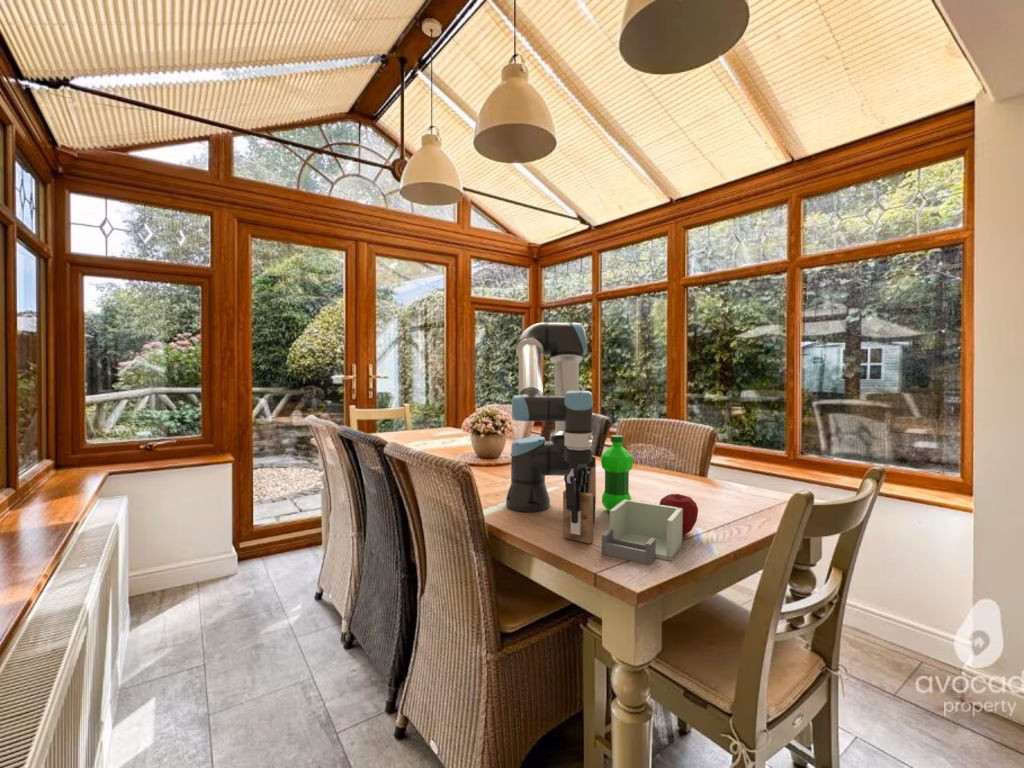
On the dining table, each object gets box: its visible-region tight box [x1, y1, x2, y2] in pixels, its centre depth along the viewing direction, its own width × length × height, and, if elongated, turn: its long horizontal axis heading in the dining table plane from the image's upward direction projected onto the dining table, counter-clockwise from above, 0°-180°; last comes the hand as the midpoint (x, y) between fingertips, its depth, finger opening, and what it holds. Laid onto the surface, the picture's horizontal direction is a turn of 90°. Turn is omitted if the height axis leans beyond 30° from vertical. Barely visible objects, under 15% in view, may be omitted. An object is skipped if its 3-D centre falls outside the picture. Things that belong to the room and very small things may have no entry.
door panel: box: [562, 489, 594, 544], centre depth 129 cm, size 8×3×13 cm, turn 58°
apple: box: [658, 493, 699, 537], centre depth 134 cm, size 11×11×12 cm
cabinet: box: [601, 499, 683, 566], centre depth 123 cm, size 16×17×10 cm
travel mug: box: [587, 456, 597, 525], centre depth 144 cm, size 8×8×20 cm
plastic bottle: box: [600, 434, 634, 513], centre depth 155 cm, size 10×10×25 cm
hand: (577, 531), depth 129 cm, fingers closed on door panel, 2 cm apart
